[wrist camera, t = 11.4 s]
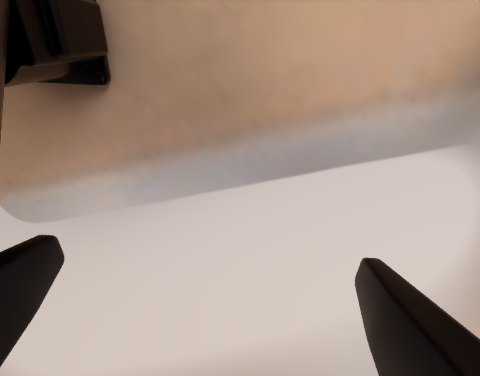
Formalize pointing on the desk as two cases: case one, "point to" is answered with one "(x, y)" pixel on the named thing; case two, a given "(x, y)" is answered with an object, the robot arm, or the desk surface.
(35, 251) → the robot arm
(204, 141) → the desk surface
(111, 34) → the desk surface
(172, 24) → the desk surface
